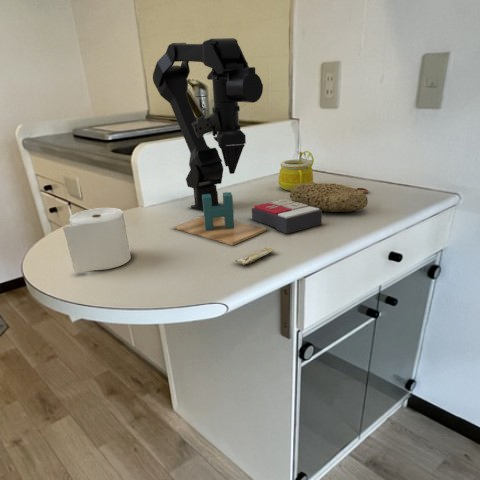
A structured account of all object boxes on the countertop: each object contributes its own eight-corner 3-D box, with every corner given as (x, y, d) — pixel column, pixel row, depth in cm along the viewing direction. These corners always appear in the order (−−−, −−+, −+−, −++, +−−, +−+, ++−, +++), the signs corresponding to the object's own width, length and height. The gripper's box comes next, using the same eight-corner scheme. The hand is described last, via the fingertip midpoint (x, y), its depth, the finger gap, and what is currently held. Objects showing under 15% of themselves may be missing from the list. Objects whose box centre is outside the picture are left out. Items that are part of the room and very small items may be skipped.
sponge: (285, 212, 122) (339, 212, 107) (285, 183, 120) (341, 178, 105) (319, 211, 130) (374, 211, 114) (320, 183, 128) (376, 179, 112)
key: (349, 206, 121) (375, 193, 131) (350, 202, 121) (376, 190, 130) (331, 201, 125) (358, 189, 134) (332, 198, 124) (359, 186, 133)
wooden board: (174, 228, 111) (174, 226, 110) (208, 216, 118) (208, 214, 118) (232, 245, 99) (232, 243, 99) (266, 230, 106) (266, 228, 106)
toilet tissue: (135, 250, 99) (127, 206, 94) (124, 272, 89) (115, 224, 84) (88, 252, 99) (78, 208, 94) (72, 274, 89) (59, 226, 84)
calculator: (284, 197, 118) (322, 206, 106) (285, 213, 120) (322, 224, 108) (250, 205, 113) (286, 215, 101) (251, 221, 115) (286, 234, 103)
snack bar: (264, 247, 95) (274, 245, 93) (266, 254, 95) (276, 252, 93) (233, 260, 89) (243, 259, 87) (235, 267, 90) (245, 266, 87)
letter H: (204, 226, 109) (202, 194, 105) (232, 224, 110) (230, 192, 106) (205, 230, 107) (202, 197, 103) (234, 228, 107) (232, 195, 103)
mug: (275, 185, 144) (275, 146, 138) (308, 183, 145) (309, 144, 139) (283, 195, 133) (283, 153, 127) (318, 192, 134) (320, 151, 128)
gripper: (190, 100, 111) (196, 165, 119) (193, 106, 95) (200, 180, 103) (233, 98, 112) (236, 162, 120) (244, 103, 96) (247, 176, 104)
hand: (229, 169), depth 112 cm, fingers open, 9 cm apart
